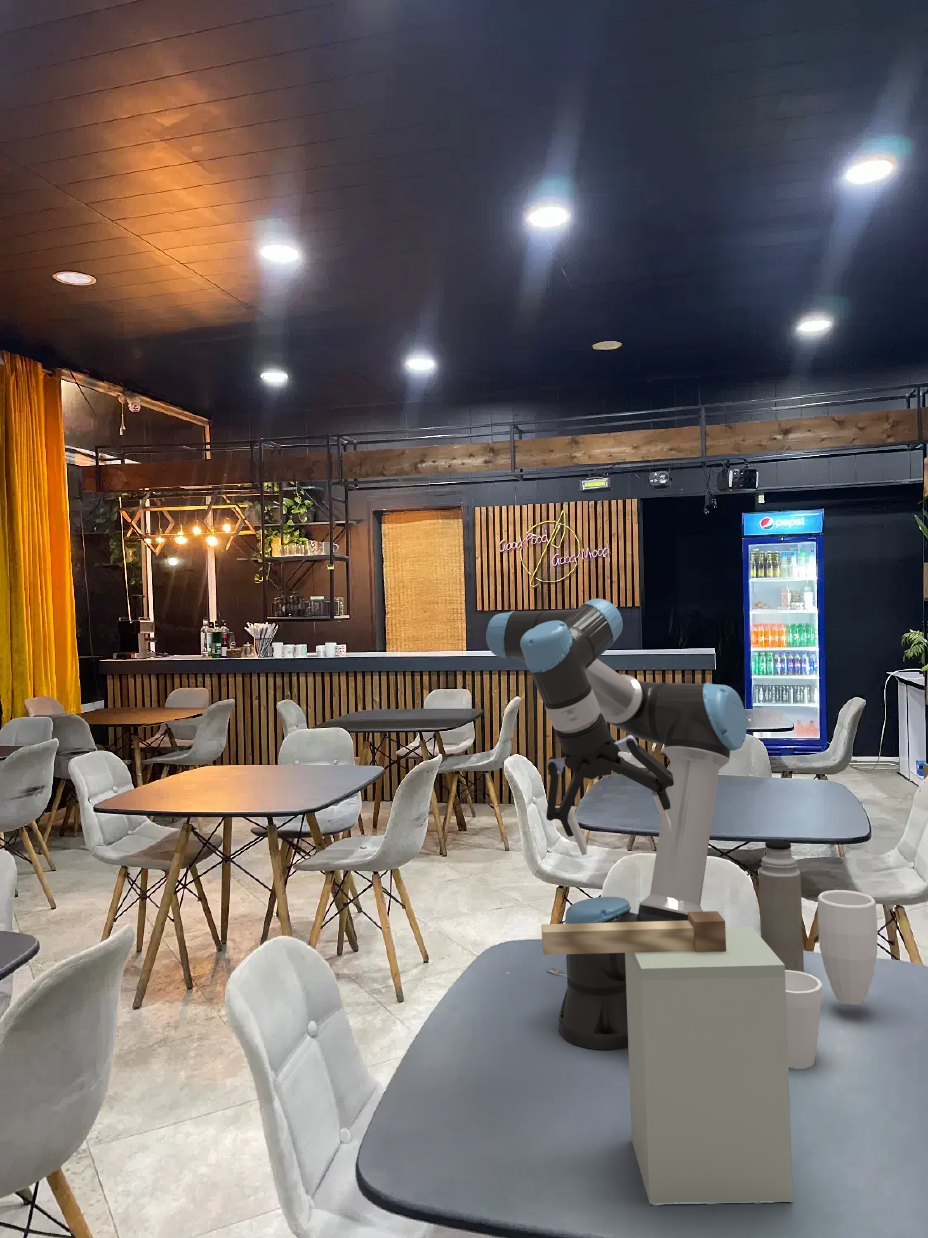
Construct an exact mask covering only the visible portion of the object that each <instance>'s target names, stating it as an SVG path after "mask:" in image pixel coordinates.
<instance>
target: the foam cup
mask: <svg viewBox="0 0 928 1238" xmlns="http://www.w3.org/2000/svg"><path fill="white" fill-rule="evenodd" d="M785 986H786V1014H787V1042H788V1069H789V1068H790V1069H795V1070H805V1069H809V1068H812V1067H813V1066H814V1064H816V1062H815V1060H816V1054H817V1048H818V1047H817V1044H818V1035H819V1026H820V1017H821V1007H822V1006H821V1005H822V1001H823V995H824V994H823V984H822V982H821V979H819V978H817V977H816V976H814V975H812V974H809V973H806V972H804V973H803V972H800V971H791V970H785Z"/></svg>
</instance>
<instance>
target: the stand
mask: <svg viewBox="0 0 928 1238" xmlns="http://www.w3.org/2000/svg"><path fill="white" fill-rule="evenodd" d="M725 931H726V951H723V952H695V951H668V952H631V953H625V965H626V993H627V1021H628V1046H627V1047H628V1049H627V1050H628V1070H629V1071H628V1072H629V1074H628V1075H629V1100H630V1101H629V1102H630V1105H629V1106H630V1126H631V1127H630V1128H631V1143H632V1146H633V1147H632V1148H633V1151H634V1153H635V1157H636V1161H637V1165H638V1167H639V1172H640V1174H641V1175H642V1176H641V1179H642V1178H643V1179H642V1183H643V1182H644V1183H643V1186H644V1185H645V1186H644V1189H645V1188H646V1190H645V1193H646V1192H647V1194H646V1196H648V1197H647V1200H648V1199H649V1201H648V1203H650V1204H653V1203H654V1204H657V1203H665V1202H666V1203H674V1202H679V1203H680V1202H709V1203H710V1202H713V1203H714V1202H717V1203H718V1202H720V1203H721V1202H747V1201H748V1202H750V1201H752V1202H753V1201H755V1202H760V1201H775V1202H791V1203H790V1204H793V1203H794V1191H793V1190H794V1188H793V1183H794V1182H793V1160H792V1159H793V1158H792V1156H793V1154H792V1133H791V1131H792V1128H791V1105H790V1077H789V1075H790V1073H789V1071H790V1069H789V1068H788V1042H787V1014H786V986H785V965H784V964H783V962H782V961H781V960H780V959H779V958H778V957H777V955H776V954H775V953H774V952H773V951H772V950H771V948H770V947H769V946H768V945H767V944H766V943H765V941H764V940H763V939H762V938H761V935H760V934H759V933H758V932H757V930H755V928H754V927H753V926H729V927H728V926H725ZM650 1204H649V1205H650Z"/></svg>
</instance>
